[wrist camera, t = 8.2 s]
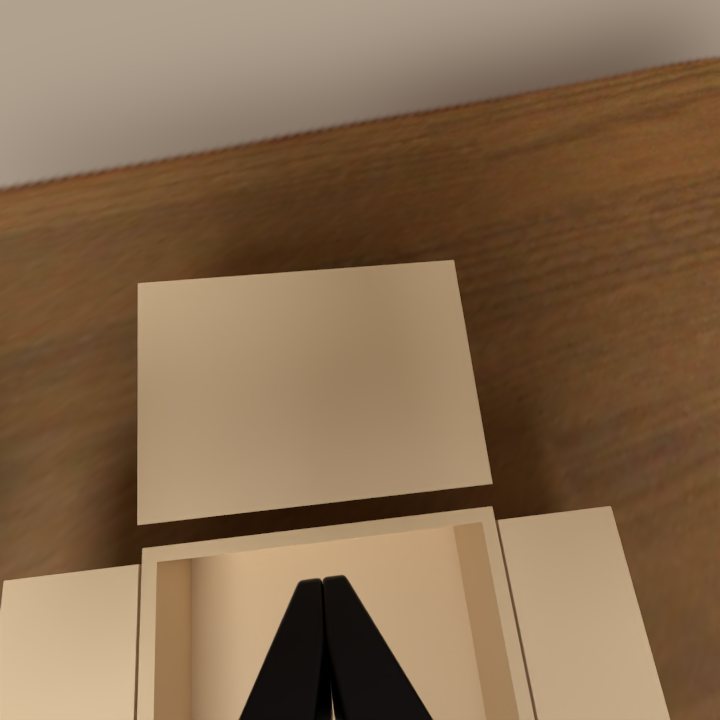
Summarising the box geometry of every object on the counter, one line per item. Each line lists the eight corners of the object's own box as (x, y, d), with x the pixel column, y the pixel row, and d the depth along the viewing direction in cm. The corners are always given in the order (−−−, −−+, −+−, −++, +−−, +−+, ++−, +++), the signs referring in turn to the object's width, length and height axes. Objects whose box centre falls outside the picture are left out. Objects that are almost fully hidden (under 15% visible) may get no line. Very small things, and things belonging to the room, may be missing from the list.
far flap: (492, 483, 14) (453, 260, 16) (137, 525, 13) (137, 283, 15) (485, 484, 15) (448, 269, 17) (146, 523, 14) (145, 292, 16)
